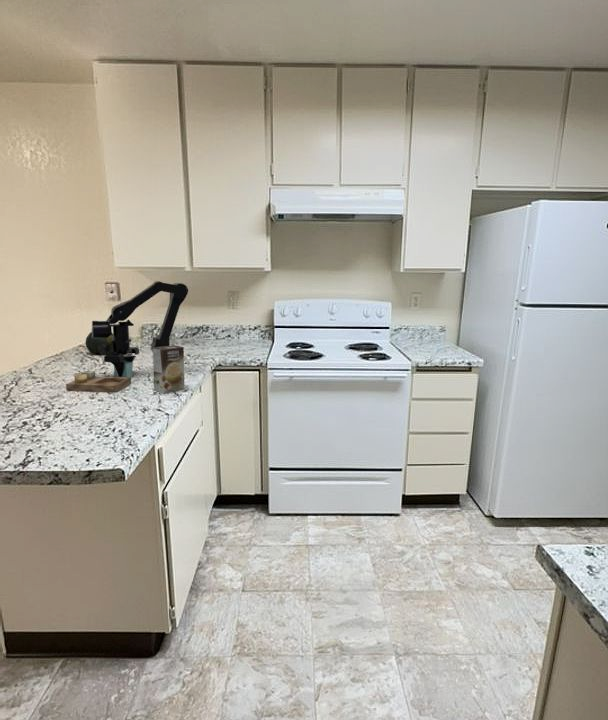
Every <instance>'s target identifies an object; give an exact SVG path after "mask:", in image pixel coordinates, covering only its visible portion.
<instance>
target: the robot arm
mask: <svg viewBox="0 0 608 720" xmlns="http://www.w3.org/2000/svg"><path fill="white" fill-rule="evenodd" d="M160 292H163V293H164V292H165V293H168V294H169V303H168V306H167V310H166V313H165V316H164V319H163V321H162V324H161V328H160V331H159V334H158V335H157V337H155V336H152V341H151V343H150V347H151V349H150V351H151V352H152V353H153V347H163V346H171V345H170V337H171V334H172V331H173V328H174V325H175V323H176V322H175V321H176V319H177V316H178V313H179V310H180V306H181V305H182V304H183V302H184V301H185V299H186V297H187V296H188V293H189V288H188V286H187V285H186V284H184V283H181V282H174V283H172V284H171V283H167V282H162V281H160V280H158V281H157V280H155V281H154V282H153V283H152V284H151V285H149V286H147V287H146V288H145V289H143V290H142V291H141V292H139V293H137V294H136V295H134V296H133V297H132V298H130V299H128V300H126V301H123V302H120V303H118V304H116V305H115V306H113V307H112V308H111V309H110V311H111V312H110V313H111V314H109V317H108V318H107V319H106V320H92V321H91V332H92V337H93V339H94V338H109V336H110V335H112V333H113V337H114V340H112V341H111V344H110V345H107V346H106V345H105V344H102V345H99V346H98V352H100V353H101V354H100V353H99V354H100V355H101V356H103V362H104V363H111V364H113V367H114V366H115V368H116V370H117V373H118V375H119V377H122V375H123V372H124V368H125V364H126V362H132V364H133V362H134V361H135V358H136V357H137V356H136V355H139V354H140V348H138V347H137V346H136V347H135V346H130V345H131V342H132V339H131V338H130V330H129V329H130V328H129V327H133V326H134V322H133V323H132V322H131V320H130V319H128V318H129V317H130V316H131V315H132V314H133V313H134V312H135V310H136V309H137V308H138V307H140V306H142V305H143V304H145V303H146V302H147V301H148V300H150V299H151V298H153V297H154V296H156V295H157V294H159V293H160ZM110 352H111V353H110ZM107 353H109V354H107Z"/></svg>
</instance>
